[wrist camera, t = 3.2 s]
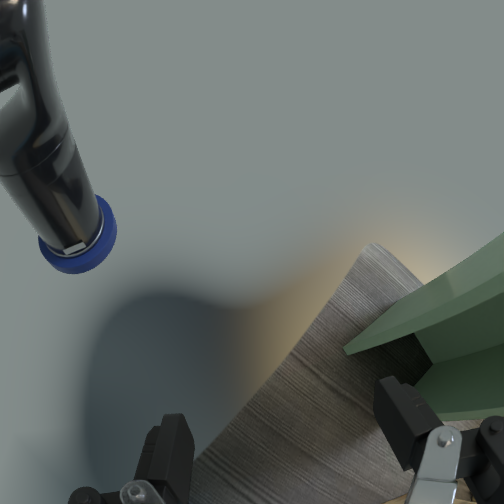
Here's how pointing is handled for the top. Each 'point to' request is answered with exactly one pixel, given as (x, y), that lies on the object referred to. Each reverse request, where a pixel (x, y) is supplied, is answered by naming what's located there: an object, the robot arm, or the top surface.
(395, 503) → the block
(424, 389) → the tall green cabinet
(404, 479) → the top surface
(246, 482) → the top surface
